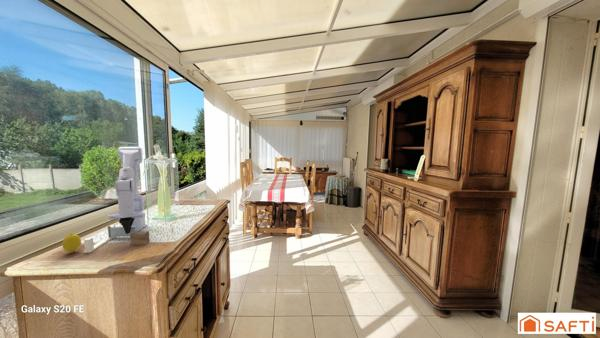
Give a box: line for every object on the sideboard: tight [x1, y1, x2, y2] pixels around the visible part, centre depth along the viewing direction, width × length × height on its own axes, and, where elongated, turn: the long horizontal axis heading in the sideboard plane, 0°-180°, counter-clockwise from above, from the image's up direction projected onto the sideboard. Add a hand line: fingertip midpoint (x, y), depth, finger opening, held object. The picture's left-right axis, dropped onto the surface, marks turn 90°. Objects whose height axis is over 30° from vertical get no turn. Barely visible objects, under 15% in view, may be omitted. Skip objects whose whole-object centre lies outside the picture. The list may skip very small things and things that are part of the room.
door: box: [107, 225, 137, 238], centre depth 112 cm, size 12×2×5 cm, turn 96°
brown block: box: [129, 230, 150, 247], centre depth 105 cm, size 4×6×5 cm, turn 101°
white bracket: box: [83, 224, 116, 254], centre depth 105 cm, size 18×2×5 cm, turn 11°
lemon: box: [61, 233, 82, 253], centre depth 96 cm, size 6×6×8 cm
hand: (128, 233), depth 110 cm, fingers closed, pressing on door
